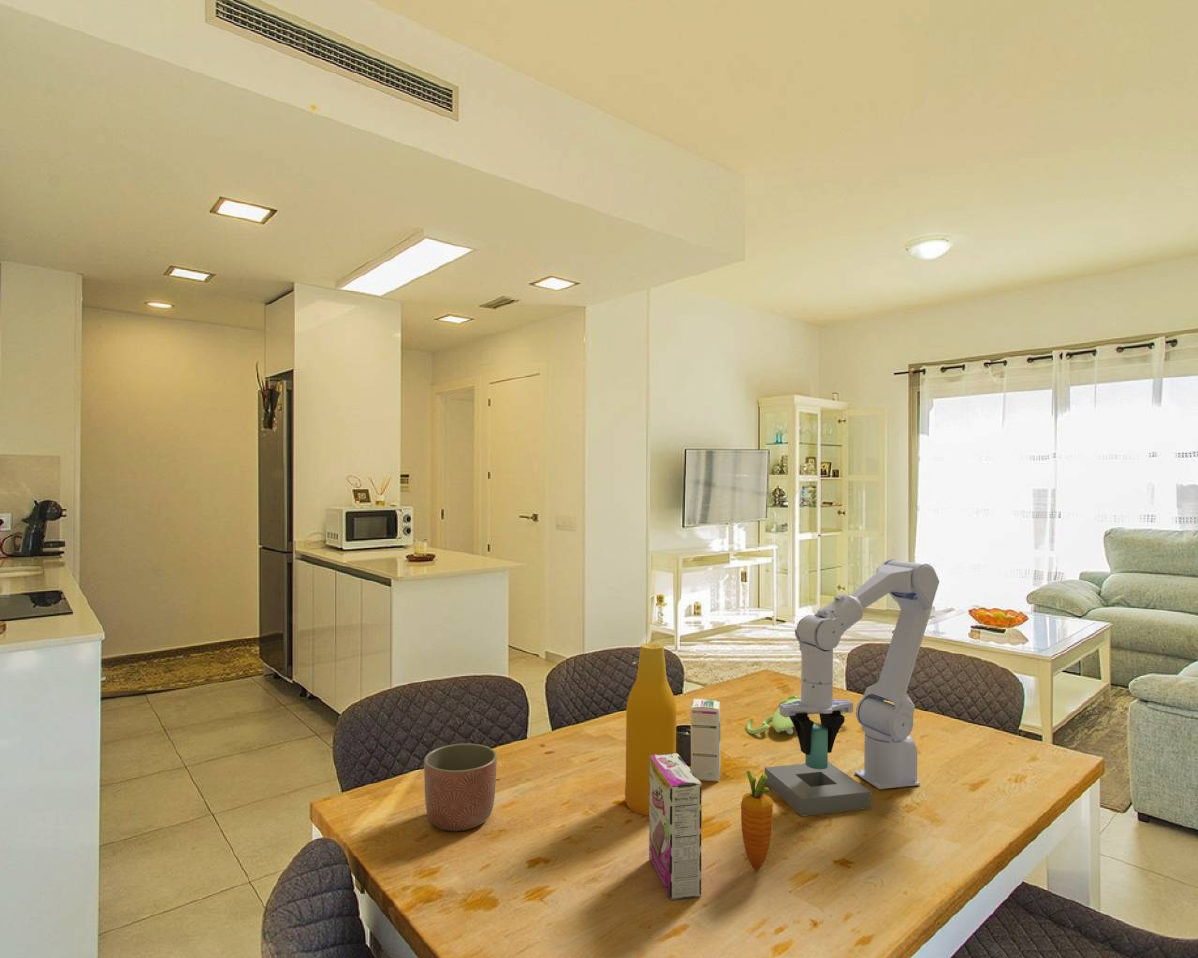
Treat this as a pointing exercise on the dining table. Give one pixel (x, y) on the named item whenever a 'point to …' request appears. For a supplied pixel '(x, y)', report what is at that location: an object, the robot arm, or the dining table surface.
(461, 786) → the planter
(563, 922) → the dining table surface
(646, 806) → the beer bottle
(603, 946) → the dining table surface
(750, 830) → the carrot
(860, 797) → the socket
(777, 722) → the figurine
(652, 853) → the candy bar box
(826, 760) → the peg
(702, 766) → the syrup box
